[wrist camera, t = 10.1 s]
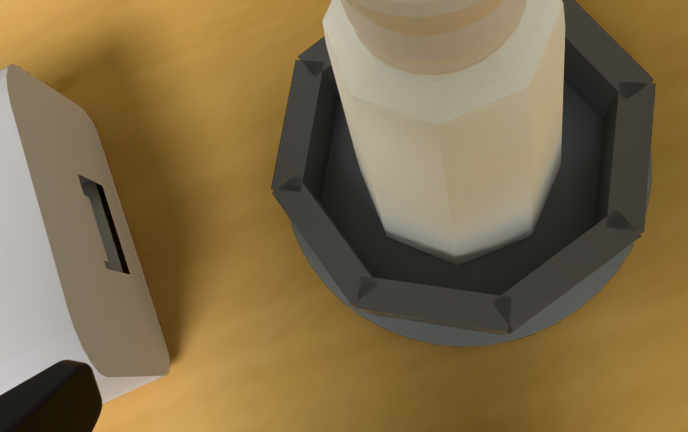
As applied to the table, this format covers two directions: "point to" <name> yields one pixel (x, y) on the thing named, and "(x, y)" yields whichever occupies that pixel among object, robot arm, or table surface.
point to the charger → (66, 250)
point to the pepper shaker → (452, 115)
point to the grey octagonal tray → (497, 266)
